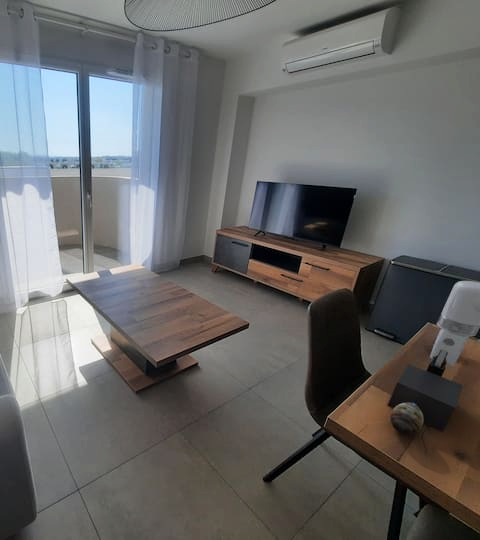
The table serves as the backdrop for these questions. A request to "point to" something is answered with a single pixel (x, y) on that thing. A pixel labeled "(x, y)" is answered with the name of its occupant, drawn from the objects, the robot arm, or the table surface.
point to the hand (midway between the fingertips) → (432, 376)
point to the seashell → (407, 418)
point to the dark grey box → (427, 395)
